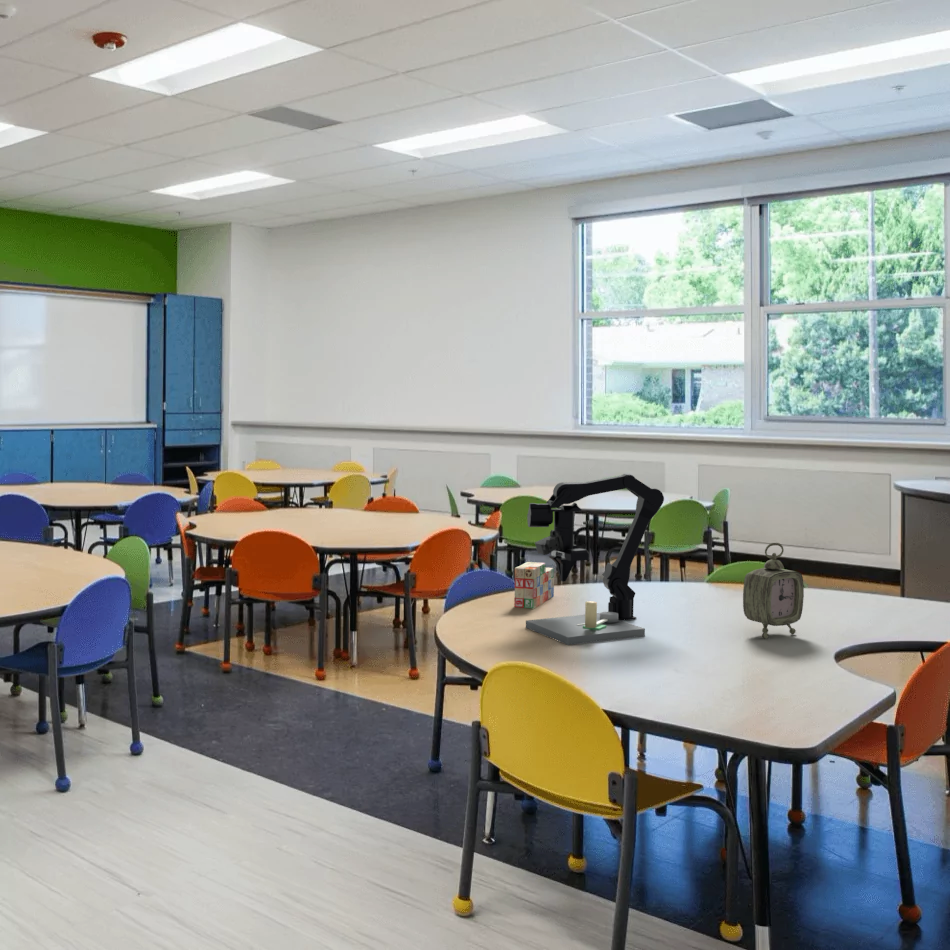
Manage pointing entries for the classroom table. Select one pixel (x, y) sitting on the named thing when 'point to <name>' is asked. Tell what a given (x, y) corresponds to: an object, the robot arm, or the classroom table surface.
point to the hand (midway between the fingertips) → (563, 581)
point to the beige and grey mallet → (592, 615)
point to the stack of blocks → (533, 584)
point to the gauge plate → (583, 629)
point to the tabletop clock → (773, 594)
